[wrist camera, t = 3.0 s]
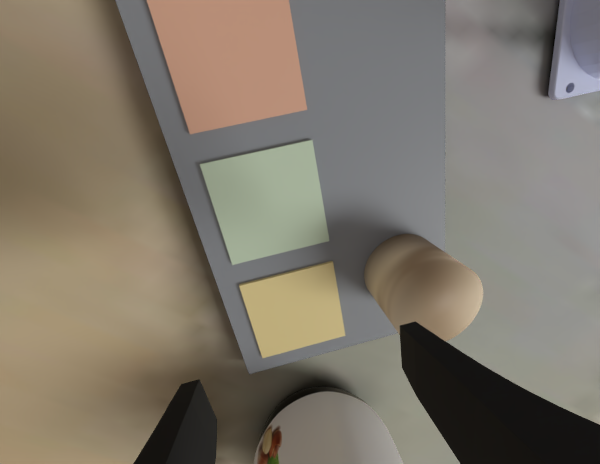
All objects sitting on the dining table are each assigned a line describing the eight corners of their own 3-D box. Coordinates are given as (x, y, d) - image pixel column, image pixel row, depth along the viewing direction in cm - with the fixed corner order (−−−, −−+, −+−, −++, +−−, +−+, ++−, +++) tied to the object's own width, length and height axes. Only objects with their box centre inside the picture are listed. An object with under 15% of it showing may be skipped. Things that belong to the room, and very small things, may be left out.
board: (428, -83, 13) (448, -105, 12) (434, 309, 21) (446, 321, 20) (112, -31, 12) (96, -50, 11) (249, 360, 20) (249, 376, 19)
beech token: (435, 225, 17) (485, 253, 14) (436, 291, 19) (480, 331, 16) (359, 244, 17) (390, 278, 13) (368, 309, 19) (396, 355, 15)
